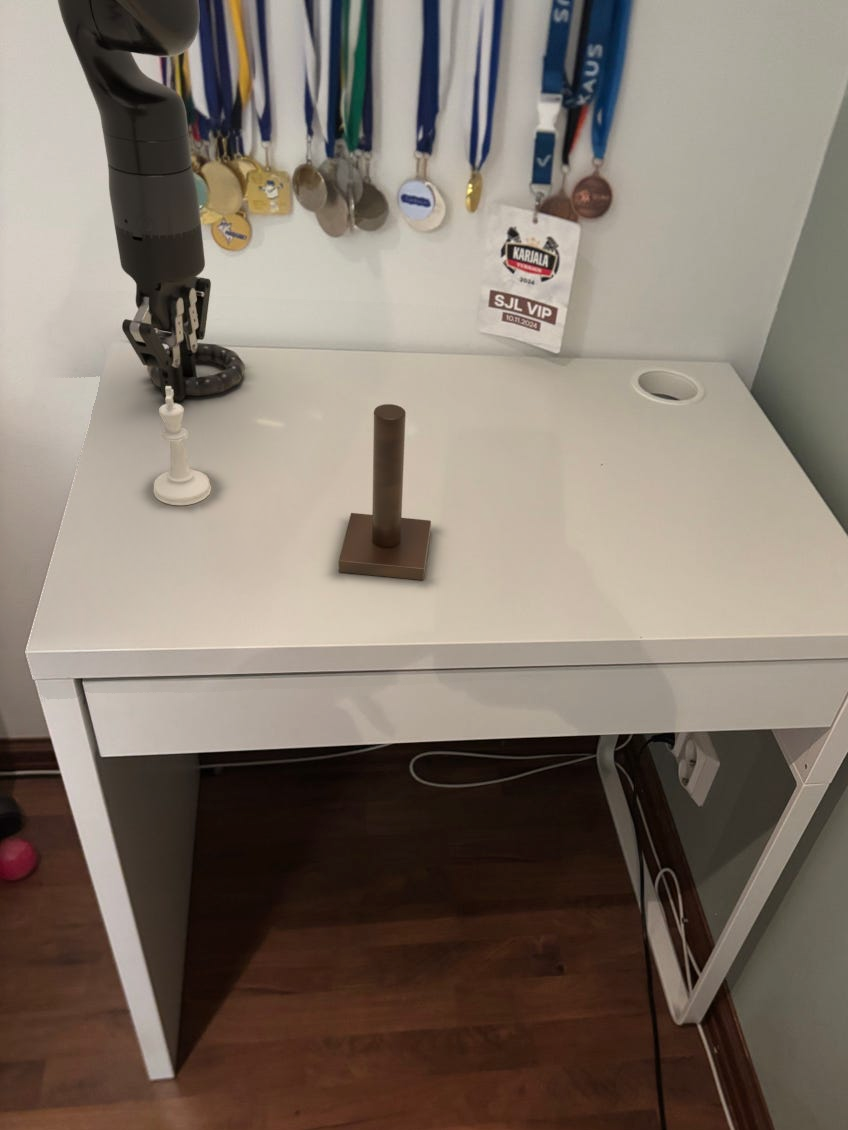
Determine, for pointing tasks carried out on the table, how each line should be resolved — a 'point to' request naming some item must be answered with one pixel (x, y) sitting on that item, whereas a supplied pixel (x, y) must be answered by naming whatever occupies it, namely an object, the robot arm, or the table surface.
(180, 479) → the chess piece
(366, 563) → the peg stand
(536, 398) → the table surface
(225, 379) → the ring
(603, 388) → the table surface
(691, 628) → the table surface
